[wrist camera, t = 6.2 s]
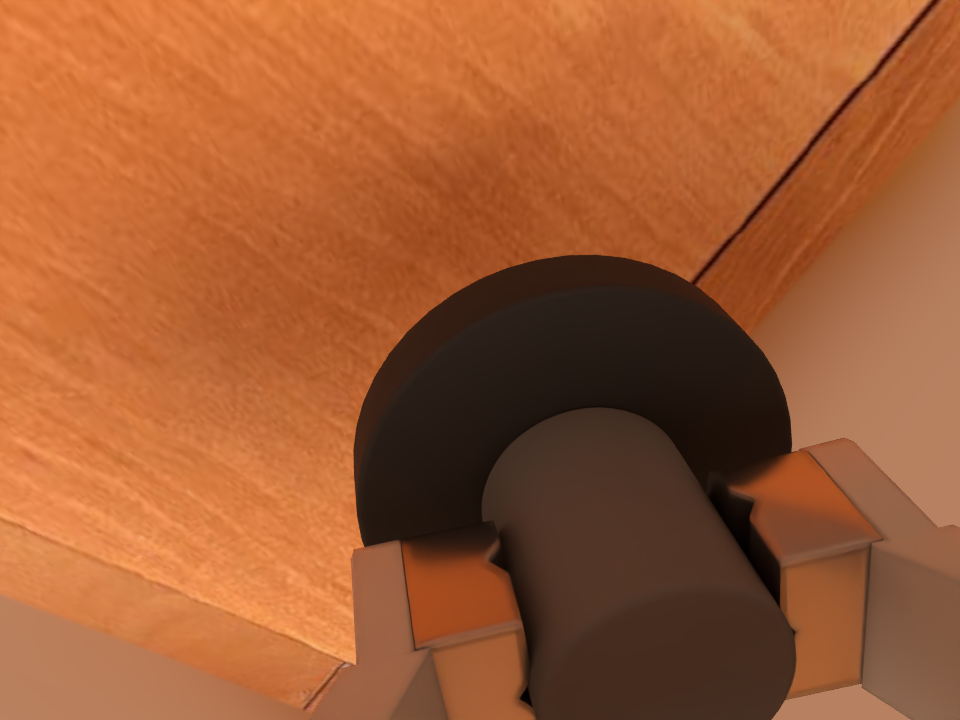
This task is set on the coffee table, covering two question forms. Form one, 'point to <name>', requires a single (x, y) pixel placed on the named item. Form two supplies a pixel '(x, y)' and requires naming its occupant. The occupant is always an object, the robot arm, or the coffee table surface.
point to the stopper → (592, 480)
